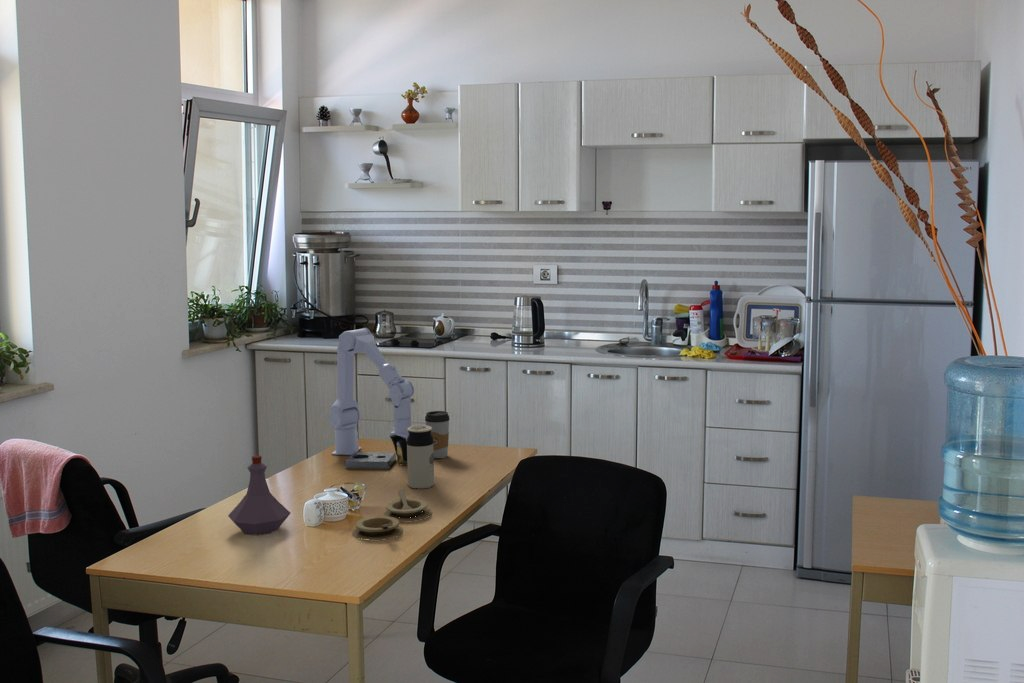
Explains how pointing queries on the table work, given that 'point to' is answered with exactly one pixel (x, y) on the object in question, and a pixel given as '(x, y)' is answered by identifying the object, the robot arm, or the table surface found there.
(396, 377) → the robot arm
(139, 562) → the table surface
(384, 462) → the block
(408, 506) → the tableware set
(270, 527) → the flask
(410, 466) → the travel mug
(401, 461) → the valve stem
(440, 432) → the coffee cup
